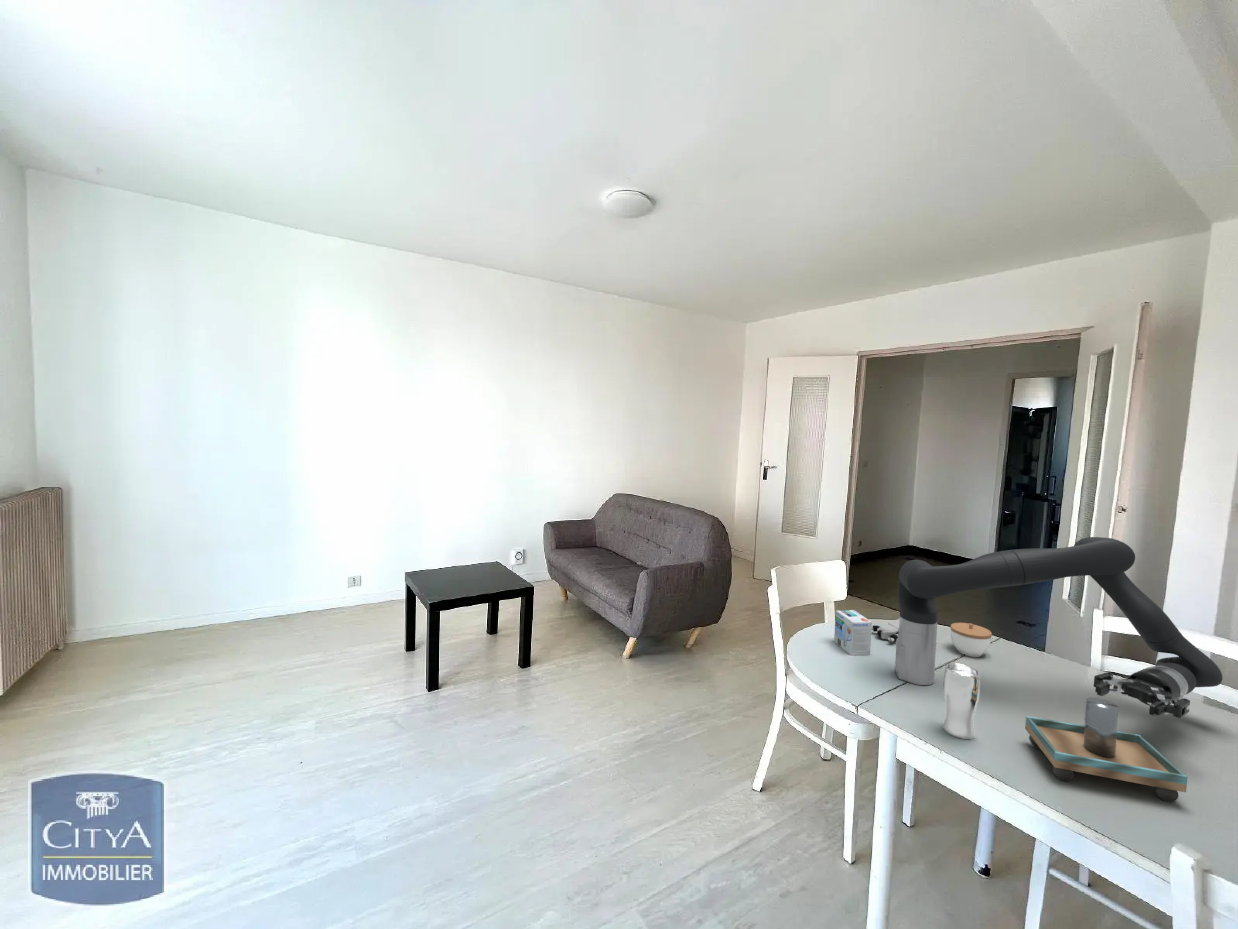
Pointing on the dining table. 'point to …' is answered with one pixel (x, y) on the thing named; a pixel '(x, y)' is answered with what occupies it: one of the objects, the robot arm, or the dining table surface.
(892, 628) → the robot toy
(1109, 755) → the metal part
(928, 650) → the robot arm
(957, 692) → the beer glass
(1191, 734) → the dining table surface
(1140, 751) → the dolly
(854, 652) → the light bulb box
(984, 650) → the lidded jar
